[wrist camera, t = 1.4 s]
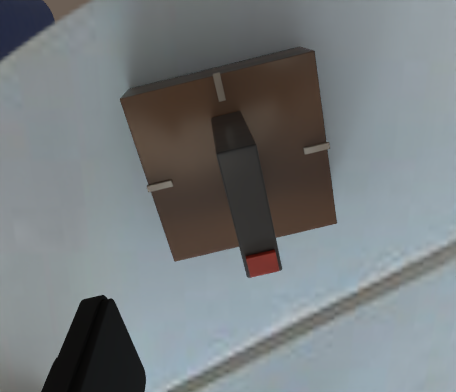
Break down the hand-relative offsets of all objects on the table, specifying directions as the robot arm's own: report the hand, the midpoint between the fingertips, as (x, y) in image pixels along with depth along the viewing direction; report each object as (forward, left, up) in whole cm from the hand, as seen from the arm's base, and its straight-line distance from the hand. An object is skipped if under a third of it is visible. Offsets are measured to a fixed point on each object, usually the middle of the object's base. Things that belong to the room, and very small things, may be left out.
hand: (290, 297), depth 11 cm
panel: (+1, 0, -15) cm, 15 cm away
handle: (+1, 0, -12) cm, 12 cm away
